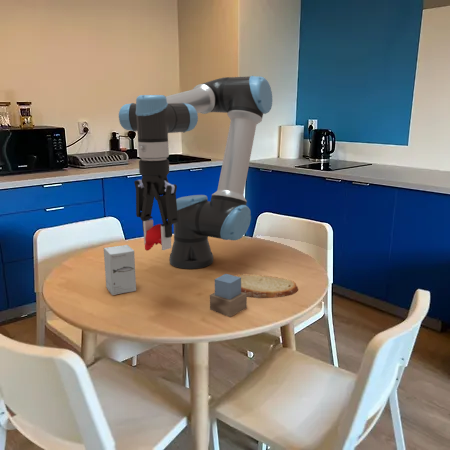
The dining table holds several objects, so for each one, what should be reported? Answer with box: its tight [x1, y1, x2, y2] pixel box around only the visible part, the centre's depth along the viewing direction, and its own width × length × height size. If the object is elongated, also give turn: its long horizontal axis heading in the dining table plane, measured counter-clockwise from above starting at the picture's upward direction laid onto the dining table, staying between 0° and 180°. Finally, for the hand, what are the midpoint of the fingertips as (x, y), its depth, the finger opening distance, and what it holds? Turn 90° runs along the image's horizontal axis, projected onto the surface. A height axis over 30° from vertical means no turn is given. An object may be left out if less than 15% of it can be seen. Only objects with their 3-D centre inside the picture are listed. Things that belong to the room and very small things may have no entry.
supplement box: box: [103, 244, 137, 296], centre depth 133 cm, size 7×7×13 cm
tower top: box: [214, 273, 241, 300], centre depth 120 cm, size 5×5×4 cm
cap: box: [144, 223, 162, 251], centre depth 120 cm, size 8×6×6 cm
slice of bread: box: [235, 273, 299, 299], centre depth 135 cm, size 18×18×4 cm
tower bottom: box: [209, 292, 248, 318], centre depth 121 cm, size 7×7×4 cm
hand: (157, 246), depth 120 cm, fingers closed on cap, 6 cm apart
